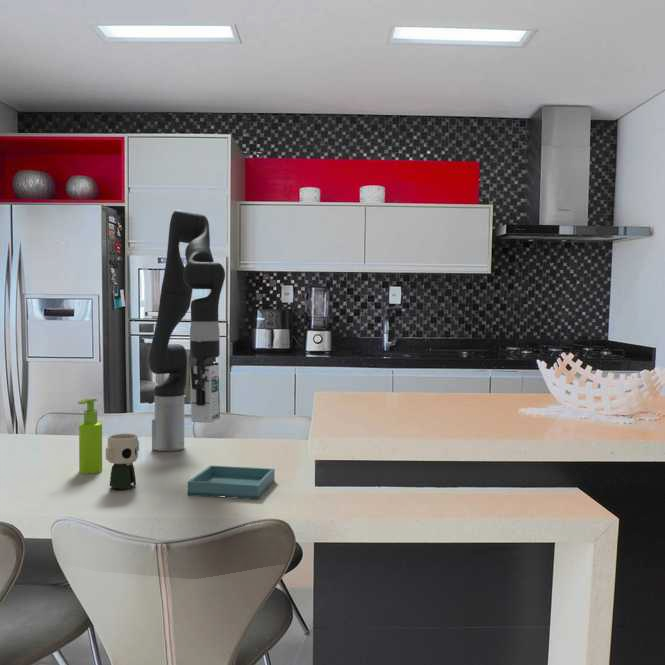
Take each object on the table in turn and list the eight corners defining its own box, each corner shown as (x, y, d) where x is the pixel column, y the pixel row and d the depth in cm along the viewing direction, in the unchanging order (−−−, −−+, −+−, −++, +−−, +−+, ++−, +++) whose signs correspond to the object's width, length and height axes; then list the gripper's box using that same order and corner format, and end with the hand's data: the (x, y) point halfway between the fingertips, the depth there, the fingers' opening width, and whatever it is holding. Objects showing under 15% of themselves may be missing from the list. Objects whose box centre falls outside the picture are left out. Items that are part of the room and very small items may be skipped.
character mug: (117, 495, 150) (117, 441, 150) (95, 491, 153) (95, 438, 153) (149, 483, 160) (149, 433, 159) (127, 480, 163) (127, 430, 162)
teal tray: (187, 495, 151) (187, 481, 151) (210, 477, 166) (210, 465, 166) (258, 499, 148) (258, 485, 148) (274, 481, 164) (274, 468, 164)
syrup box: (211, 423, 159) (211, 366, 159) (190, 422, 161) (189, 366, 160) (220, 419, 165) (219, 364, 165) (199, 418, 166) (198, 364, 166)
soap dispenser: (71, 473, 169) (71, 400, 168) (89, 467, 175) (89, 396, 174) (89, 475, 167) (89, 401, 166) (106, 469, 173) (106, 397, 172)
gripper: (201, 338, 170) (201, 399, 170) (180, 340, 156) (180, 407, 156) (227, 338, 169) (228, 400, 169) (208, 340, 155) (209, 408, 155)
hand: (205, 403), depth 163 cm, fingers closed on syrup box, 5 cm apart
